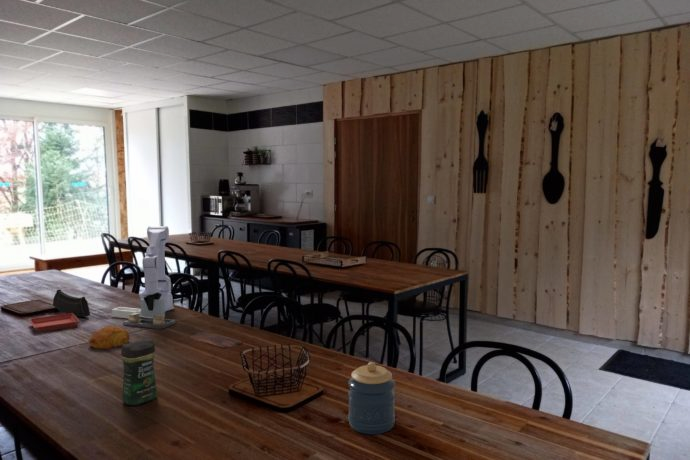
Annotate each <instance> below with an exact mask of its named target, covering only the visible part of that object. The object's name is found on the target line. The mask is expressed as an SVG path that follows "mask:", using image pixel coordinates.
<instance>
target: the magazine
mask: <svg viewBox="0 0 690 460" xmlns="http://www.w3.org/2000/svg"><path fill="white" fill-rule="evenodd" d="M52 299H53V300H52V301H53V303H52V306H53V307H54V308H56V309H57V310H58V311H61V313H63V314H68V313H73V314H74V315H75V316H76V317H84V318H85V317H89V316H91V312H90V308H89V307H90V306H89V302H88V300H87V299H86V297H85V296H82V297H77V296H72V295H70V294H67V293H65V292H63V291H62V290H61V289H57V290H56V293H55V294H54V297H53V298H52Z"/></svg>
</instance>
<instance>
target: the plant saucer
mask: <svg viewBox="0 0 690 460" xmlns="http://www.w3.org/2000/svg"><path fill="white" fill-rule="evenodd" d="M29 321H30V322H31V324H32V326H33V329H34V330H36V331H37V333H43V332H49V331H55V330H61V329H68V328H74V327H76V326H77V325H78V323H79V322H80V320H79V318H78V316H75V315H74V314H73V313H68V314H66V313H61V314H55V315H47V316H41V317H33V318H30V319H29Z"/></svg>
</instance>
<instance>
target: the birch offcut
mask: <svg viewBox="0 0 690 460" xmlns="http://www.w3.org/2000/svg"><path fill="white" fill-rule="evenodd" d="M152 318H153V323H161V322H163V321H164V319H165V317H164V316H161V315H157V316H155V317H152Z"/></svg>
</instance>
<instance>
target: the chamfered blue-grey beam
mask: <svg viewBox="0 0 690 460" xmlns="http://www.w3.org/2000/svg"><path fill="white" fill-rule="evenodd" d="M139 299H140V300H139V301H140V303H139V304H140V309H141V316H146V317H151V318H153V317H155V316H157V315H161V316H164V318H165V317H166V312H165V305H164V300H157V299H154V303H153V311H149V310H148V307H147V304H146V302H145V301H144V299H143V298H139Z"/></svg>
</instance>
